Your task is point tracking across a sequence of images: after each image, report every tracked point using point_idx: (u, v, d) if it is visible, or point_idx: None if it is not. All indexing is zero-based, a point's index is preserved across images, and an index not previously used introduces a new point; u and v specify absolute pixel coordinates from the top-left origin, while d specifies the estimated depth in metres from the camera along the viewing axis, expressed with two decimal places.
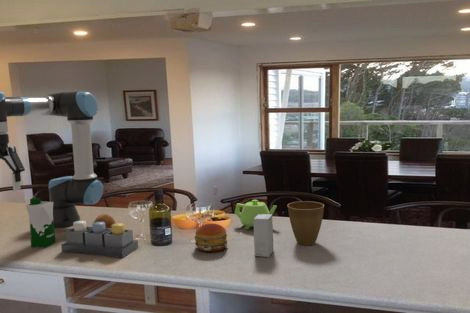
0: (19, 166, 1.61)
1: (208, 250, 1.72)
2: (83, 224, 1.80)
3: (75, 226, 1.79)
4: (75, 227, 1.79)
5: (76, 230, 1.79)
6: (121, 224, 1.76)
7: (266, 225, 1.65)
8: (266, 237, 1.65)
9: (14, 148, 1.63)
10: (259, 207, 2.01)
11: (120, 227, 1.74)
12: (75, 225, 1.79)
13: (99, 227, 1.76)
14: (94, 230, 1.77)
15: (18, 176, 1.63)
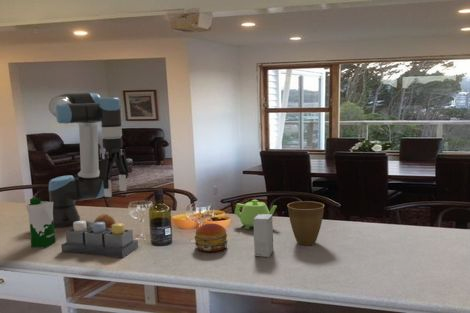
0: (100, 174, 1.65)
1: (208, 250, 1.72)
2: (83, 224, 1.80)
3: (75, 226, 1.79)
4: (75, 227, 1.79)
5: (76, 230, 1.79)
6: (121, 224, 1.76)
7: (266, 225, 1.65)
8: (266, 237, 1.65)
9: (104, 155, 1.65)
10: (259, 207, 2.01)
11: (120, 227, 1.74)
12: (75, 225, 1.79)
13: (99, 227, 1.76)
14: (94, 230, 1.77)
15: (104, 183, 1.67)
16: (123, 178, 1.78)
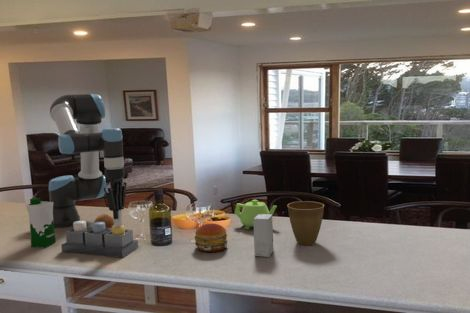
0: (109, 206, 1.71)
1: (208, 250, 1.72)
2: (83, 224, 1.80)
3: (75, 226, 1.79)
4: (75, 227, 1.79)
5: (76, 230, 1.79)
6: (121, 226, 1.76)
7: (266, 225, 1.65)
8: (266, 237, 1.65)
9: (108, 191, 1.68)
10: (259, 207, 2.01)
11: (120, 228, 1.74)
12: (75, 225, 1.79)
13: (99, 227, 1.76)
14: (94, 230, 1.77)
15: (113, 214, 1.73)
16: None
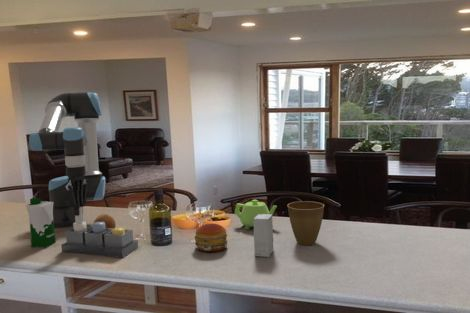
0: (70, 203, 1.76)
1: (208, 250, 1.72)
2: (83, 225, 1.80)
3: (75, 227, 1.79)
4: (75, 228, 1.79)
5: (76, 231, 1.79)
6: (121, 228, 1.76)
7: (266, 225, 1.65)
8: (266, 237, 1.65)
9: (68, 188, 1.73)
10: (259, 207, 2.01)
11: (120, 231, 1.74)
12: (75, 226, 1.79)
13: (99, 227, 1.76)
14: (94, 230, 1.77)
15: (74, 210, 1.78)
16: None
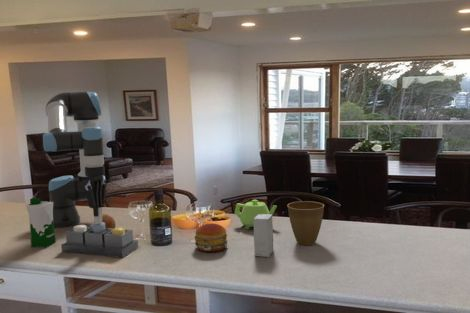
0: (89, 204, 1.73)
1: (208, 250, 1.72)
2: (83, 228, 1.80)
3: (75, 230, 1.79)
4: (75, 231, 1.79)
5: None
6: (121, 228, 1.76)
7: (266, 225, 1.65)
8: (266, 237, 1.65)
9: (88, 188, 1.70)
10: (259, 207, 2.01)
11: (120, 231, 1.74)
12: (75, 229, 1.79)
13: (99, 227, 1.76)
14: (94, 230, 1.77)
15: (94, 211, 1.76)
16: None
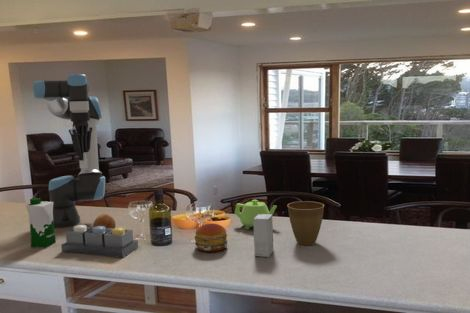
0: (75, 148, 1.82)
1: (208, 250, 1.72)
2: (83, 228, 1.80)
3: (75, 230, 1.79)
4: (75, 231, 1.79)
5: None
6: (121, 228, 1.76)
7: (266, 225, 1.65)
8: (266, 237, 1.65)
9: (73, 132, 1.78)
10: (259, 207, 2.01)
11: (120, 231, 1.74)
12: (75, 229, 1.79)
13: (99, 231, 1.77)
14: None
15: (79, 155, 1.84)
16: None
